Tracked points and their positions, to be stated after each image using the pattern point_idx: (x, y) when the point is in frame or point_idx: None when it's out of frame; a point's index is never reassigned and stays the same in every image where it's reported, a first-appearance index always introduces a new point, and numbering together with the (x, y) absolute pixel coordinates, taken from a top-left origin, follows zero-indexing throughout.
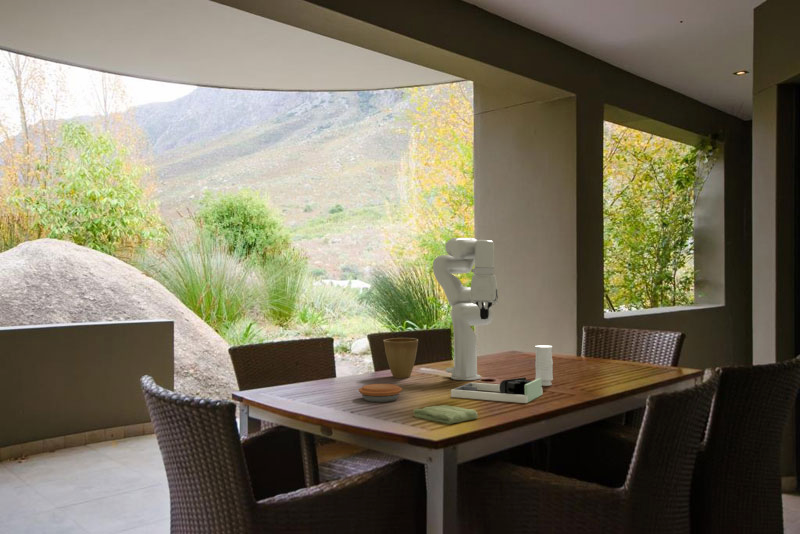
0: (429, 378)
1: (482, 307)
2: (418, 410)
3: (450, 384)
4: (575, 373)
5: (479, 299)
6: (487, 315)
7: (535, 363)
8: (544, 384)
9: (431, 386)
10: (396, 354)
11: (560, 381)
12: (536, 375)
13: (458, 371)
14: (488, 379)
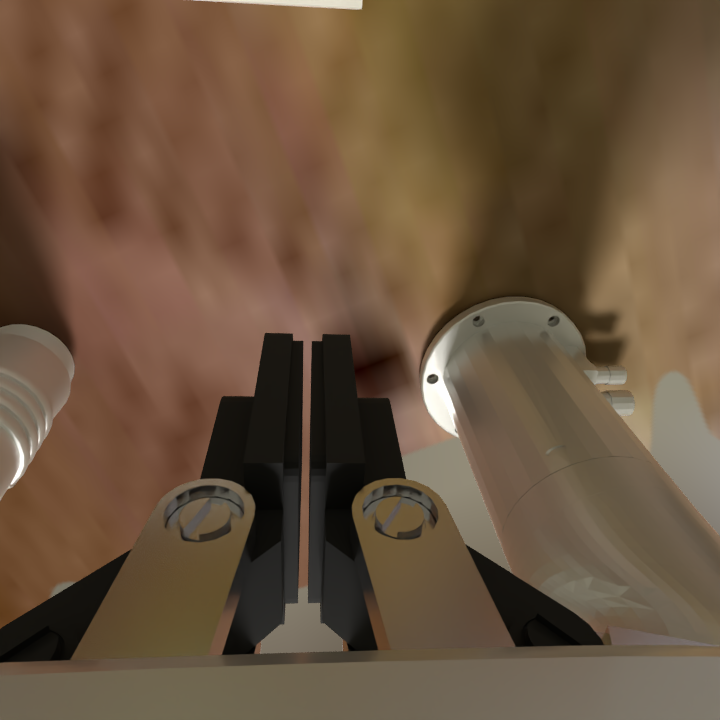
0: (696, 297)
1: (340, 542)
2: None
3: (537, 145)
4: None
5: (441, 713)
6: (221, 422)
7: (15, 410)
8: (2, 330)
9: (645, 9)
10: None
11: None
12: (37, 362)
13: (544, 338)
14: (374, 388)
